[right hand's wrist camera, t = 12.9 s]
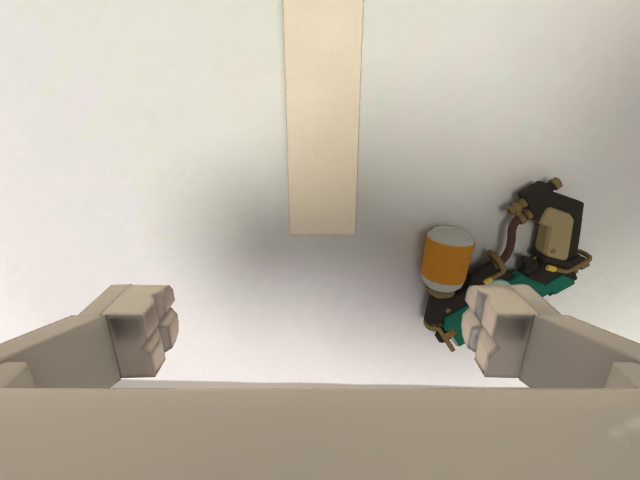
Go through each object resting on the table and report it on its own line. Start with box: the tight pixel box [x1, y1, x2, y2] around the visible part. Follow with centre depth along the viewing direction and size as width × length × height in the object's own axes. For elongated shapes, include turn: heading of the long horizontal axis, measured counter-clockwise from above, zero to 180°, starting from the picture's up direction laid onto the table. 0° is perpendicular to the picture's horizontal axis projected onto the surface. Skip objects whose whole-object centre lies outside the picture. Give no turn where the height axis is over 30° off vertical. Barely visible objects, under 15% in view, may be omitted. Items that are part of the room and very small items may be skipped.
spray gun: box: [421, 177, 592, 352], centre depth 36 cm, size 4×17×15 cm
